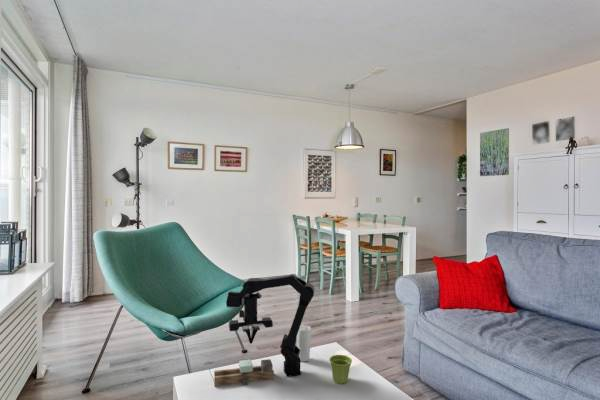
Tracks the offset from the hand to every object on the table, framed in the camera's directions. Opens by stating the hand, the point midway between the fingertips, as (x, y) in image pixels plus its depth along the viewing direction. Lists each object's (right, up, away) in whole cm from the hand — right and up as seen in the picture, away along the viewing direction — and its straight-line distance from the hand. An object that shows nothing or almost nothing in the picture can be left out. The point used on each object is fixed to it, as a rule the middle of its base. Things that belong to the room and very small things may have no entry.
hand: (250, 343), depth 156 cm
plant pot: (+39, -12, -8) cm, 41 cm away
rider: (-1, -9, -8) cm, 12 cm away
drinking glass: (+23, -12, +11) cm, 29 cm away
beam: (-2, -12, -8) cm, 14 cm away
